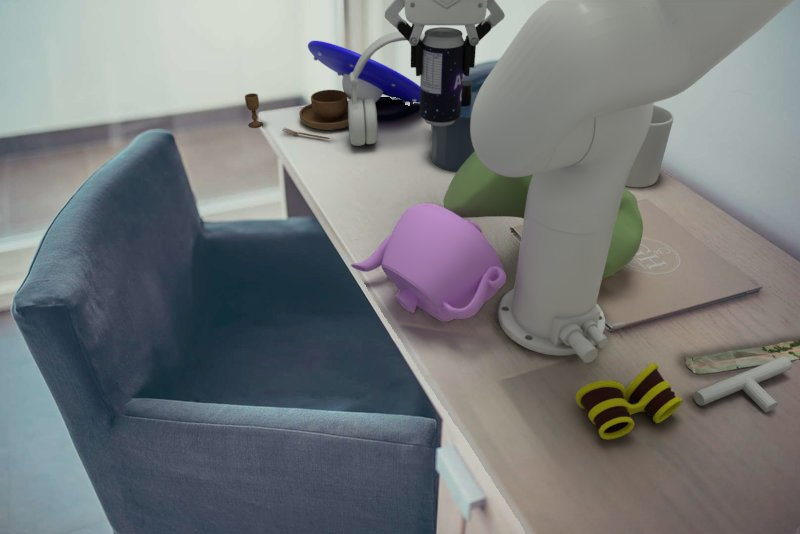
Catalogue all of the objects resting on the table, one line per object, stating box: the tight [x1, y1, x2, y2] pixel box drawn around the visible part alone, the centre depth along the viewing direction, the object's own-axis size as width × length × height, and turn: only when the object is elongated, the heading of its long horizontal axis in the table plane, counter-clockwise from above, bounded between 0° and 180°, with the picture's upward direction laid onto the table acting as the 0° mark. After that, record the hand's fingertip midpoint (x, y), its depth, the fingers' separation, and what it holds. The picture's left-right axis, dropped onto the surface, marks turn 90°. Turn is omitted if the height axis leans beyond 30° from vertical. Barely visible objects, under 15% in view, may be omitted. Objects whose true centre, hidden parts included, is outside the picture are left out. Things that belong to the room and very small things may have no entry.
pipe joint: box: [693, 357, 793, 413], centre depth 67 cm, size 12×2×4 cm
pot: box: [430, 119, 475, 173], centre depth 110 cm, size 10×10×10 cm
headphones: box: [347, 30, 432, 147], centre depth 112 cm, size 20×8×19 cm, turn 97°
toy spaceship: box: [307, 40, 420, 104], centre depth 125 cm, size 25×25×7 cm
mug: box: [625, 104, 674, 188], centre depth 104 cm, size 12×8×11 cm
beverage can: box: [419, 26, 465, 126], centre depth 86 cm, size 6×6×12 cm
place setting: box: [244, 89, 349, 140], centre depth 125 cm, size 18×20×6 cm
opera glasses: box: [575, 362, 683, 440], centre depth 65 cm, size 10×5×5 cm, turn 112°
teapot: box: [350, 202, 507, 322], centre depth 77 cm, size 20×13×12 cm
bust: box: [442, 151, 644, 280], centre depth 81 cm, size 14×15×25 cm
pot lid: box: [458, 80, 478, 120], centre depth 106 cm, size 11×11×5 cm
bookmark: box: [684, 339, 800, 375], centre depth 73 cm, size 3×21×1 cm, turn 102°
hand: (442, 71), depth 86 cm, fingers closed on beverage can, 5 cm apart
